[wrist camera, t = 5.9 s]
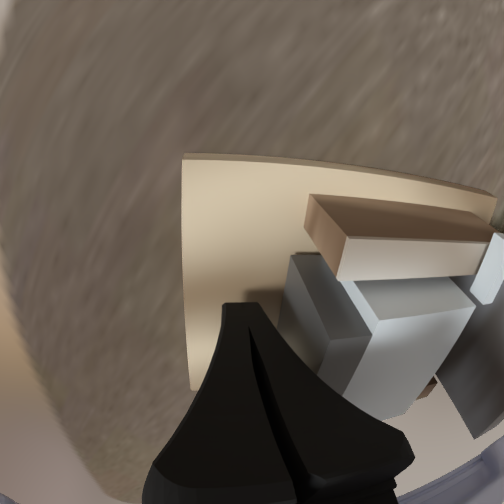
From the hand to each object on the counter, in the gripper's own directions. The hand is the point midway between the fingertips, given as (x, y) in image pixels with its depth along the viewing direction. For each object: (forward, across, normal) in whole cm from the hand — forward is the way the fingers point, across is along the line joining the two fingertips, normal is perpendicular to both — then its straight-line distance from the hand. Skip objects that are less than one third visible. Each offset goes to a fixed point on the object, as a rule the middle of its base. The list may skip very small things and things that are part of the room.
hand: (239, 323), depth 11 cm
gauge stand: (+2, -5, 0) cm, 5 cm away
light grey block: (+1, -5, -1) cm, 5 cm away
